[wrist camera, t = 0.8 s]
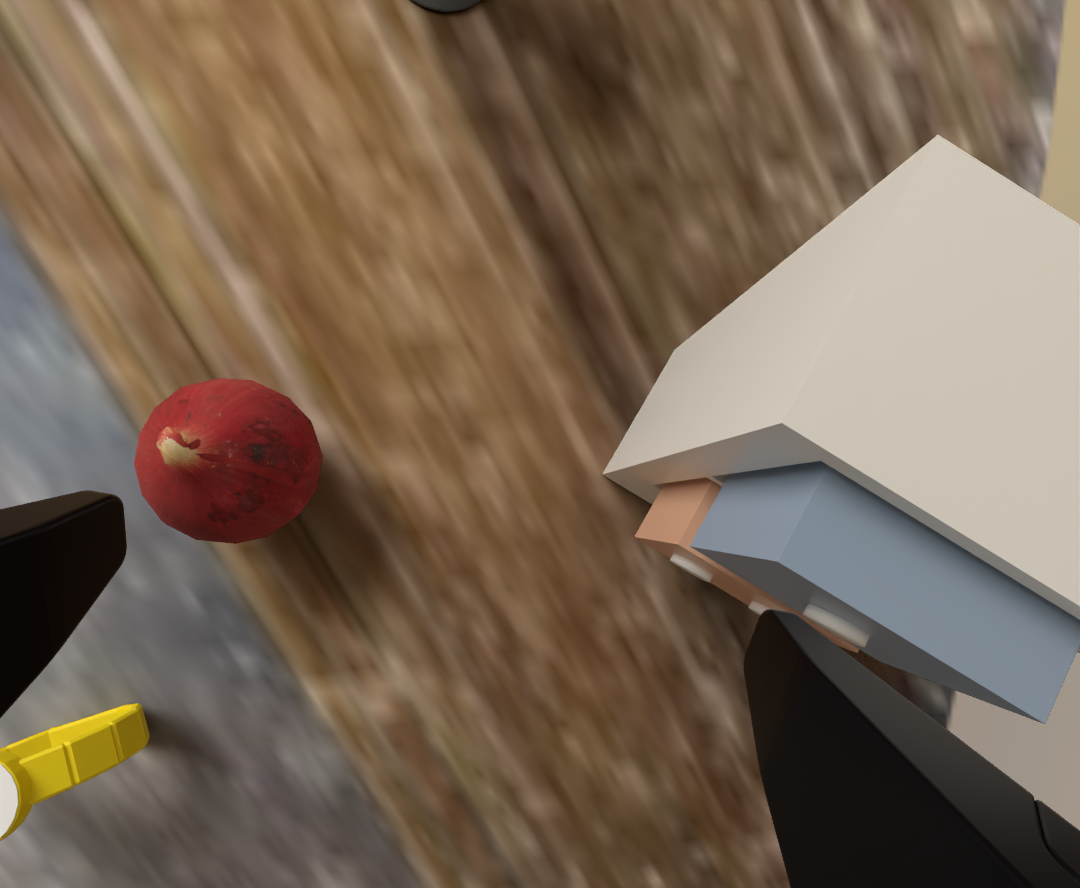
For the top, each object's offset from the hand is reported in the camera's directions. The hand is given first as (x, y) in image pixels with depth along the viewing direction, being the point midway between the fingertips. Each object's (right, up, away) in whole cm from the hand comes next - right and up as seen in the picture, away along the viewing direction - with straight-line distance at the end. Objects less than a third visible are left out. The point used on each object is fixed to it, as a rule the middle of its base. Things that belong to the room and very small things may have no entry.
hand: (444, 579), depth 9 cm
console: (+10, +2, +19) cm, 22 cm away
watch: (-16, -9, +16) cm, 24 cm away
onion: (-10, +1, +17) cm, 20 cm away
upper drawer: (+8, -1, +8) cm, 12 cm away
